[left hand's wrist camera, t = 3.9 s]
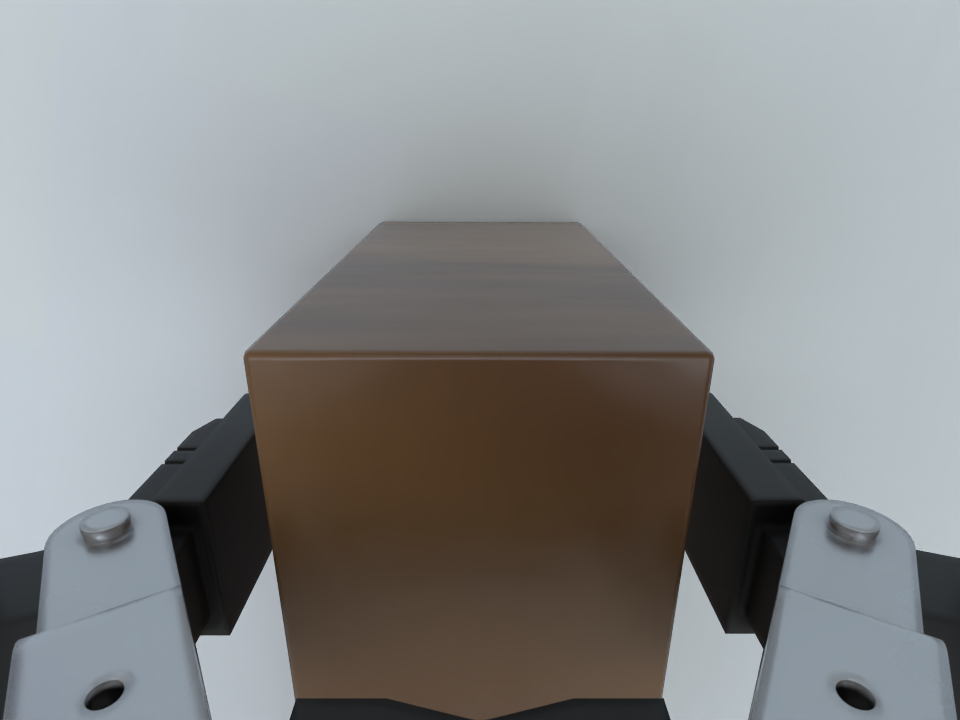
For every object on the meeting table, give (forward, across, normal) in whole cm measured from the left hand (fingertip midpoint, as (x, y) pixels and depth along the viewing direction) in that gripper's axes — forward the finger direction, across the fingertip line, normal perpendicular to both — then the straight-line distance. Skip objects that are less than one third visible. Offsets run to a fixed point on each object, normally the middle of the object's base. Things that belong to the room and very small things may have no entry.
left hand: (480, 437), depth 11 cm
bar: (+5, 0, -9) cm, 10 cm away
